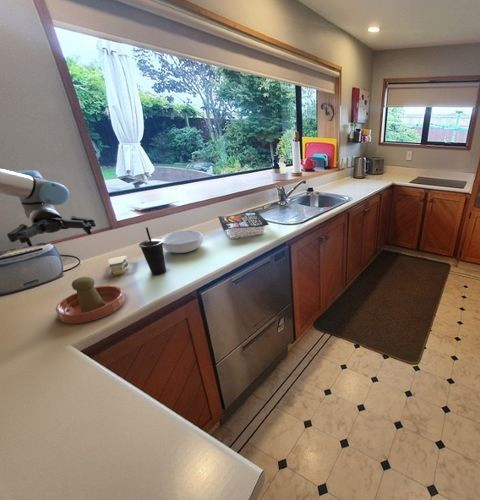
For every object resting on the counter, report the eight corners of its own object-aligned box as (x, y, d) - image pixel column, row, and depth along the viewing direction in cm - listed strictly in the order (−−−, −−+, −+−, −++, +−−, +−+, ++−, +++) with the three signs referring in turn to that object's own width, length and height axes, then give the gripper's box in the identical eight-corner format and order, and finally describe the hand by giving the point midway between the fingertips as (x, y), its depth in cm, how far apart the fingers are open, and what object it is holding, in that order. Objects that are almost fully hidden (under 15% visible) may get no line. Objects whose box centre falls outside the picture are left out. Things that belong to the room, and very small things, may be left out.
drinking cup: (167, 267, 119) (155, 222, 111) (172, 273, 114) (160, 228, 106) (146, 272, 114) (132, 226, 106) (150, 280, 109) (136, 232, 101)
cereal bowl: (167, 261, 124) (163, 246, 121) (161, 248, 135) (158, 234, 132) (208, 252, 134) (206, 238, 131) (200, 240, 145) (197, 227, 142)
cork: (108, 306, 93) (97, 277, 88) (85, 316, 88) (72, 286, 83) (100, 300, 95) (89, 272, 91) (78, 309, 91) (64, 280, 86)
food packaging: (217, 215, 160) (257, 210, 171) (219, 227, 163) (258, 222, 174) (223, 229, 141) (268, 223, 151) (226, 243, 144) (269, 236, 154)
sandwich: (134, 274, 113) (130, 262, 110) (105, 279, 108) (100, 267, 106) (135, 264, 120) (132, 252, 118) (109, 268, 116) (105, 256, 114)
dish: (47, 328, 83) (41, 318, 82) (80, 297, 97) (76, 288, 96) (111, 322, 87) (106, 311, 85) (133, 293, 101) (130, 283, 100)
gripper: (95, 222, 109) (113, 236, 98) (-2, 239, 91) (5, 259, 80) (89, 203, 106) (106, 215, 95) (-14, 217, 88) (-8, 235, 76)
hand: (60, 236), depth 87 cm, fingers open, 13 cm apart
